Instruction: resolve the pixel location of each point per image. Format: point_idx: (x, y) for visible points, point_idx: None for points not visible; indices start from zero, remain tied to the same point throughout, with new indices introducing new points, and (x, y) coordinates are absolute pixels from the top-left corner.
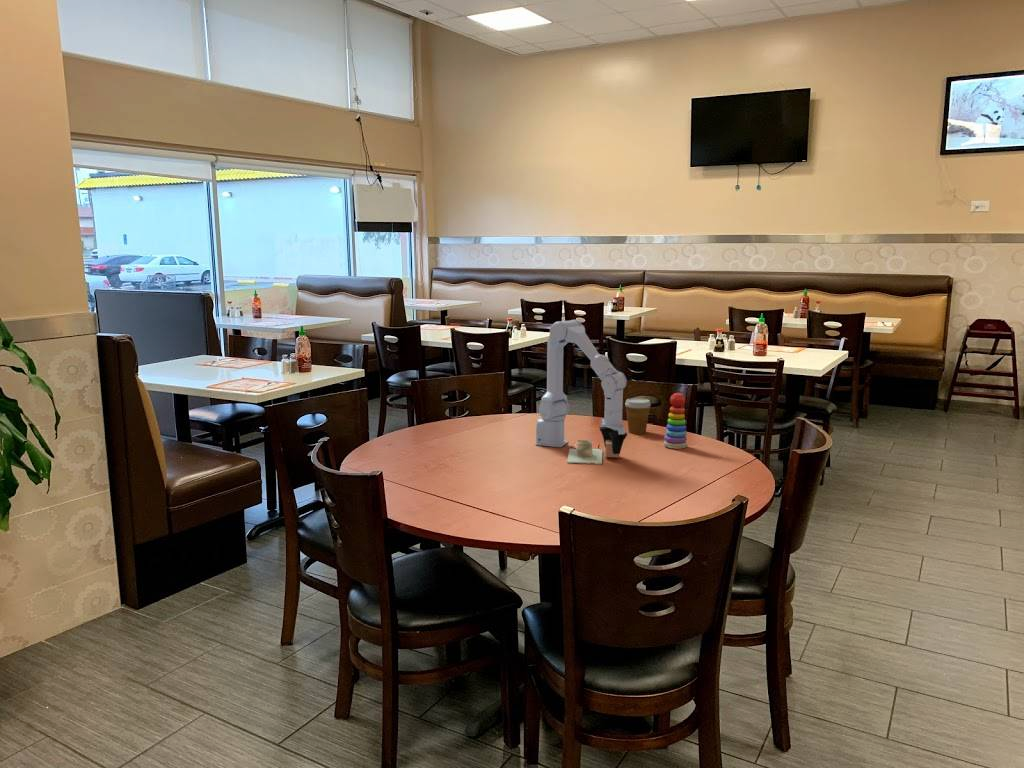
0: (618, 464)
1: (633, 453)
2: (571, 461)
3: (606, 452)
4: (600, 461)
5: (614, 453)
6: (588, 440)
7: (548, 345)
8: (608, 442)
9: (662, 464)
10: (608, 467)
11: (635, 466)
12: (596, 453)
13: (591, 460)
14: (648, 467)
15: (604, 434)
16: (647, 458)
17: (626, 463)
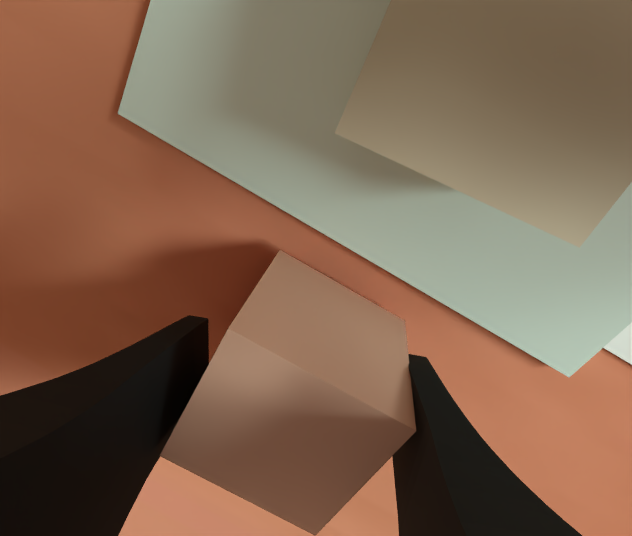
0: (106, 257)
1: (357, 504)
2: None
3: (262, 276)
4: (160, 120)
5: (183, 320)
6: (601, 189)
7: None
8: (267, 386)
9: None
10: (26, 122)
11: (36, 337)
12: (468, 246)
13: (226, 34)
14: (5, 392)
15: (439, 499)
16: (207, 498)
17: (122, 327)
